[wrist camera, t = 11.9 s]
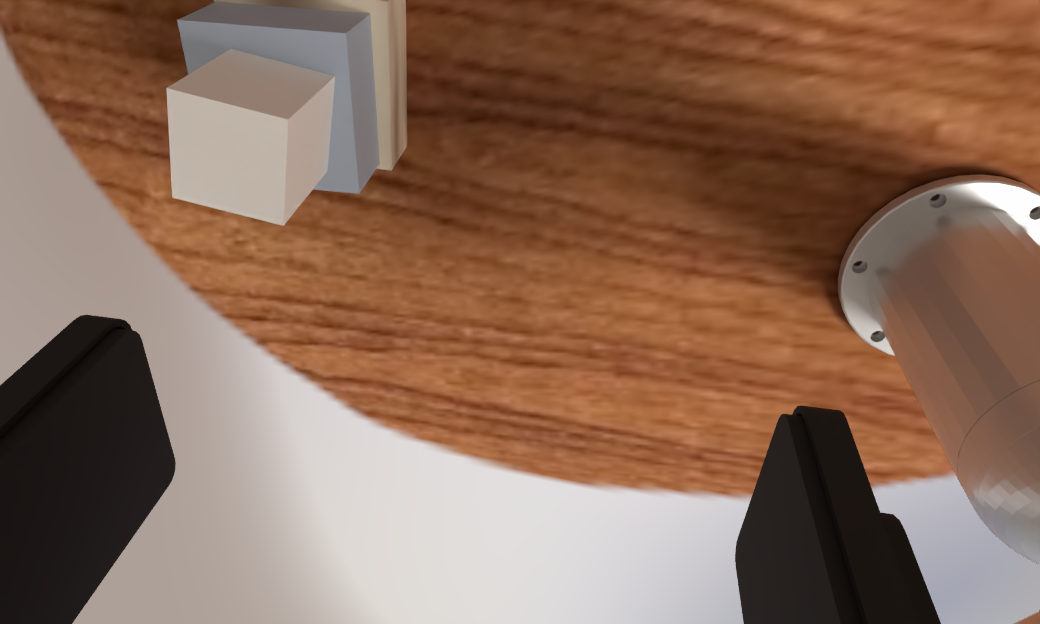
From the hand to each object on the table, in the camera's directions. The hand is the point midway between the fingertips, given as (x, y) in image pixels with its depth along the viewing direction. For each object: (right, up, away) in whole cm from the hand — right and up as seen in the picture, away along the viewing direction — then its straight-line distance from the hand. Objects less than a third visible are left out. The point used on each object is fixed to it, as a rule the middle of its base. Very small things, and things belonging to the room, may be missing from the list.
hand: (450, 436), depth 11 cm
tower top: (-11, +14, +28) cm, 33 cm away
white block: (-11, +12, +25) cm, 30 cm away
